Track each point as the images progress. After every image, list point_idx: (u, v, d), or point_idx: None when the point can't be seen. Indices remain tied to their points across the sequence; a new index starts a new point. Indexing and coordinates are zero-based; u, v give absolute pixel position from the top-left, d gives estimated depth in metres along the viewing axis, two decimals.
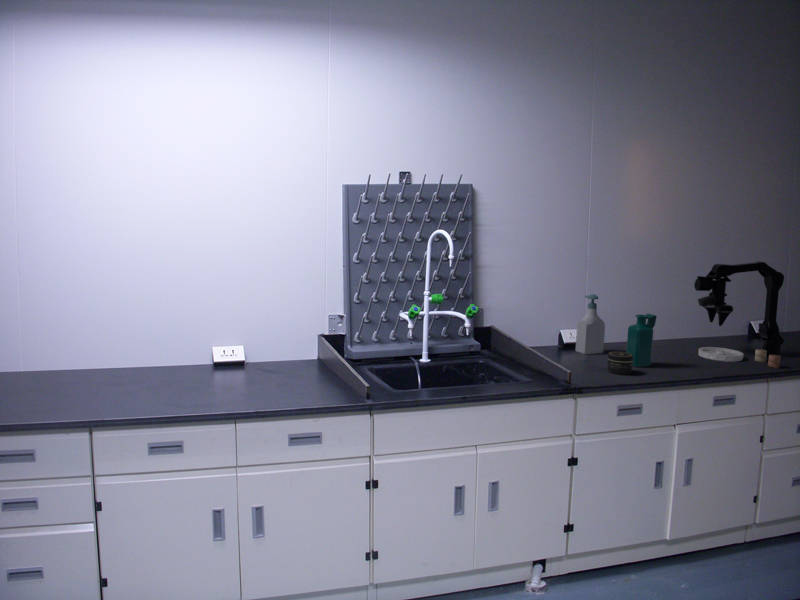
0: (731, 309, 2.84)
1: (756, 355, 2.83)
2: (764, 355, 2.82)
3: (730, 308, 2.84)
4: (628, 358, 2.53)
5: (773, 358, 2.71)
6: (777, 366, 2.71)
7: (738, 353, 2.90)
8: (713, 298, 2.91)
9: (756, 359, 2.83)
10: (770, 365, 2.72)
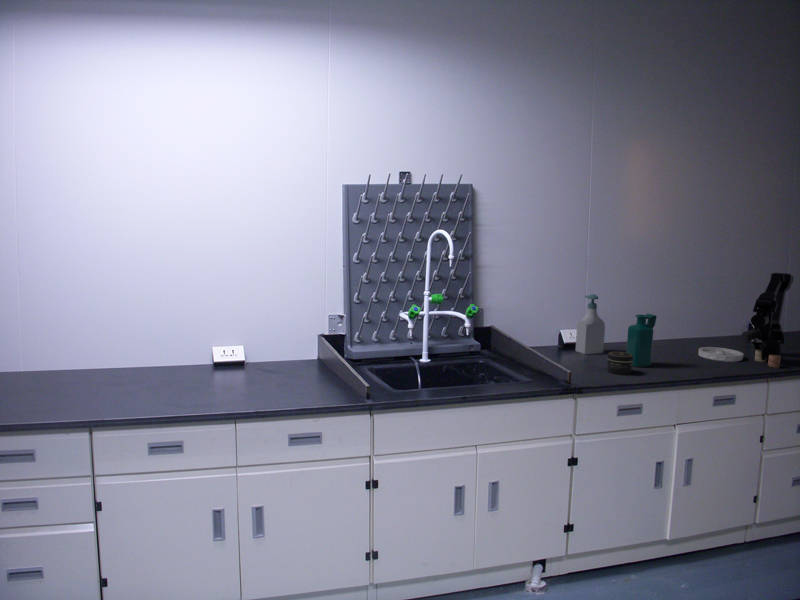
0: (778, 345, 2.74)
1: (756, 355, 2.83)
2: None
3: (777, 344, 2.73)
4: (628, 358, 2.53)
5: (773, 358, 2.71)
6: (777, 366, 2.71)
7: (738, 353, 2.90)
8: (758, 332, 2.80)
9: (756, 359, 2.83)
10: (770, 365, 2.72)
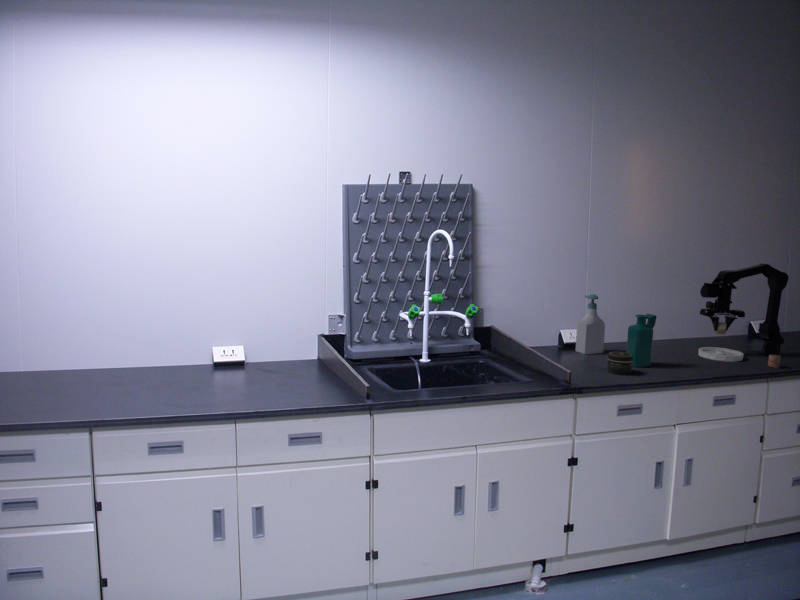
0: (705, 313, 2.89)
1: None
2: None
3: (704, 312, 2.89)
4: (628, 358, 2.53)
5: (773, 358, 2.71)
6: (777, 366, 2.71)
7: (738, 353, 2.90)
8: (714, 303, 2.94)
9: None
10: (770, 365, 2.72)
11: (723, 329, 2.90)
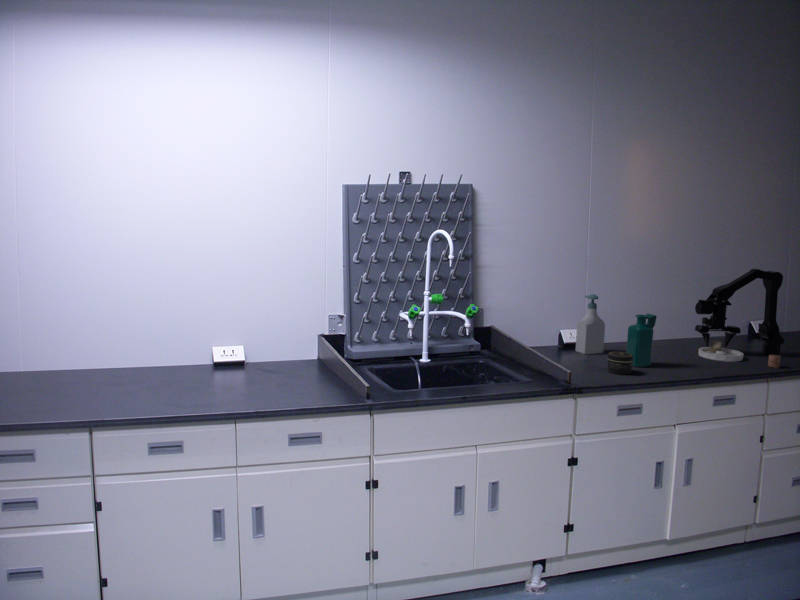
0: (699, 330, 2.92)
1: None
2: (712, 345, 2.94)
3: (699, 328, 2.92)
4: (628, 358, 2.53)
5: (773, 358, 2.71)
6: (777, 366, 2.71)
7: (738, 353, 2.90)
8: (710, 320, 2.96)
9: None
10: (770, 365, 2.72)
11: (718, 348, 2.93)
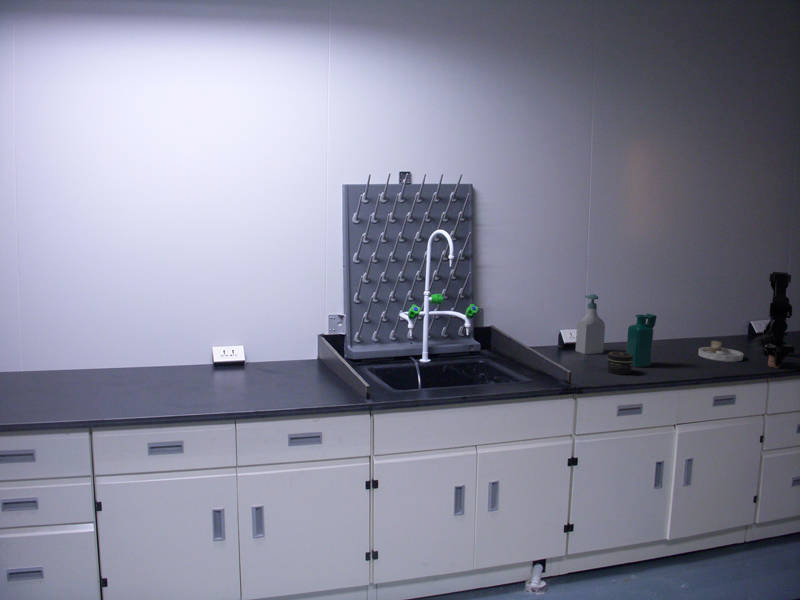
0: (793, 350, 2.63)
1: None
2: (712, 345, 2.94)
3: (792, 349, 2.63)
4: (628, 358, 2.53)
5: (773, 358, 2.71)
6: (777, 366, 2.71)
7: (738, 353, 2.90)
8: (772, 337, 2.69)
9: None
10: (770, 365, 2.72)
11: (718, 348, 2.93)
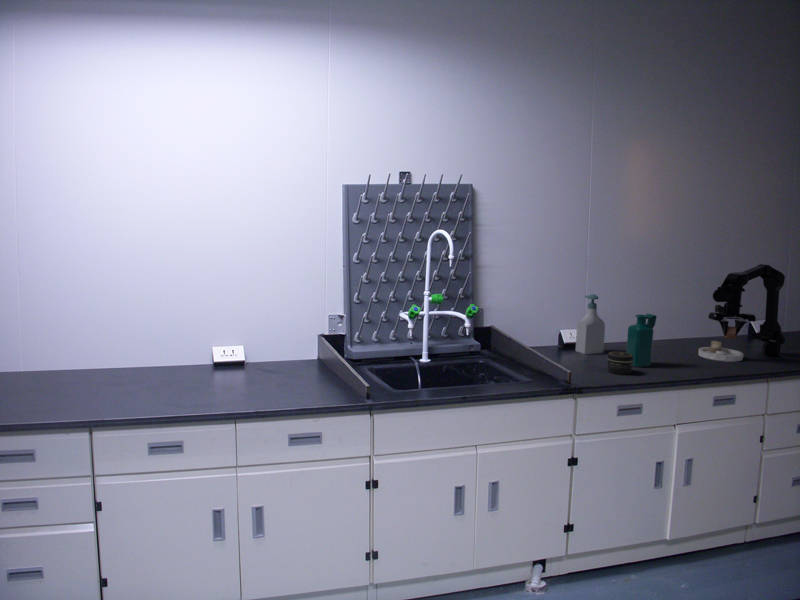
0: (713, 317, 2.80)
1: None
2: (712, 345, 2.94)
3: (713, 316, 2.80)
4: (628, 358, 2.53)
5: None
6: (725, 336, 2.83)
7: (738, 353, 2.90)
8: (723, 307, 2.84)
9: None
10: None
11: (718, 348, 2.93)
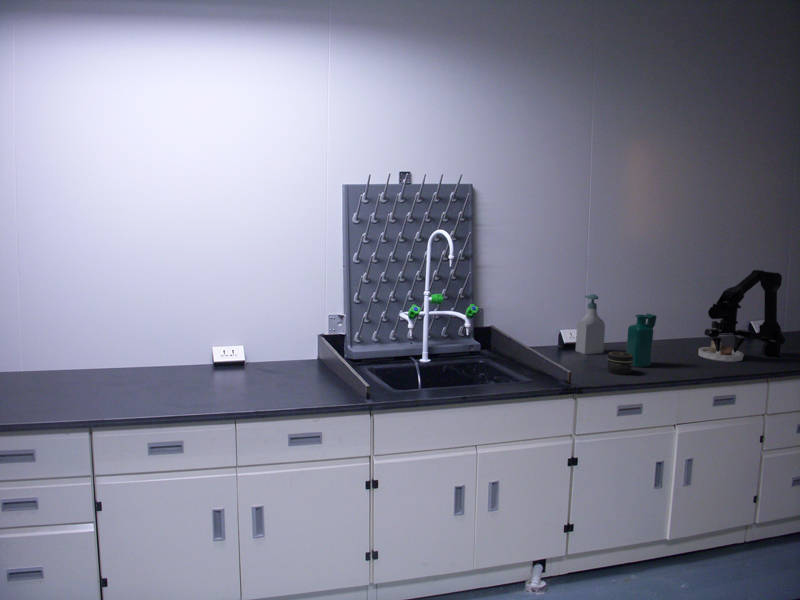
0: (709, 334, 2.82)
1: None
2: (712, 345, 2.94)
3: (708, 332, 2.82)
4: (628, 358, 2.53)
5: None
6: None
7: (738, 353, 2.90)
8: (720, 323, 2.86)
9: None
10: None
11: None
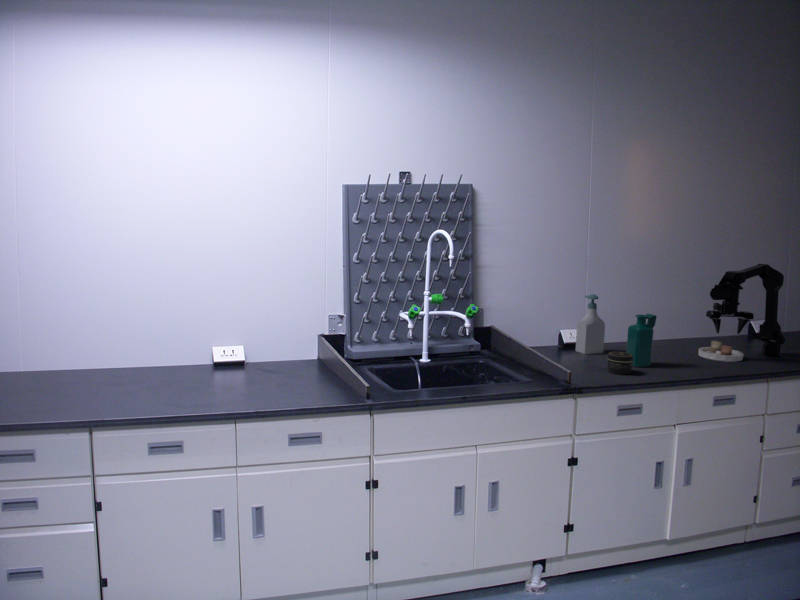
0: (711, 315, 2.81)
1: None
2: (712, 345, 2.94)
3: (710, 314, 2.81)
4: (628, 358, 2.53)
5: None
6: None
7: (738, 353, 2.90)
8: (721, 305, 2.85)
9: None
10: None
11: (718, 348, 2.93)
